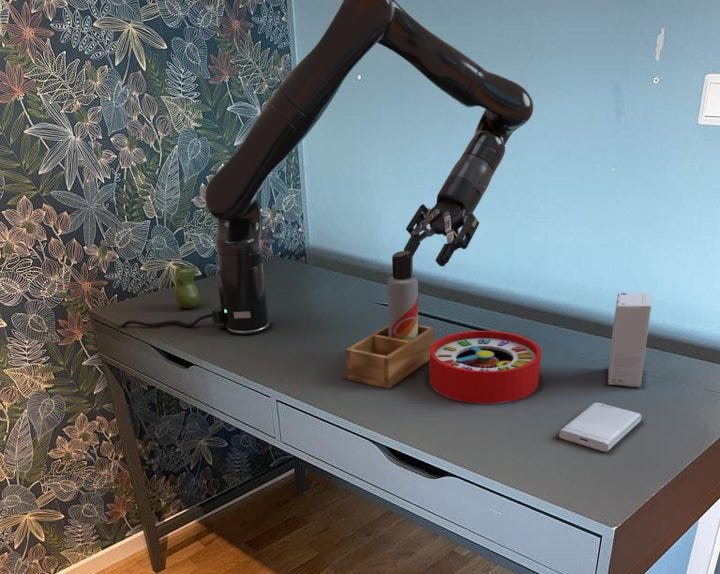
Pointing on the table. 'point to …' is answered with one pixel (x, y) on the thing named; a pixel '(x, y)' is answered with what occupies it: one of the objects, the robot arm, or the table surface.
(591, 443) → the hard drive
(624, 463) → the table surface
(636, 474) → the table surface
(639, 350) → the cosmetic box
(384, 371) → the wooden organizer box
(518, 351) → the toy clock
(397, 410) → the table surface
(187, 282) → the pear
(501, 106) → the robot arm
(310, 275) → the table surface
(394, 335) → the lotion bottle
